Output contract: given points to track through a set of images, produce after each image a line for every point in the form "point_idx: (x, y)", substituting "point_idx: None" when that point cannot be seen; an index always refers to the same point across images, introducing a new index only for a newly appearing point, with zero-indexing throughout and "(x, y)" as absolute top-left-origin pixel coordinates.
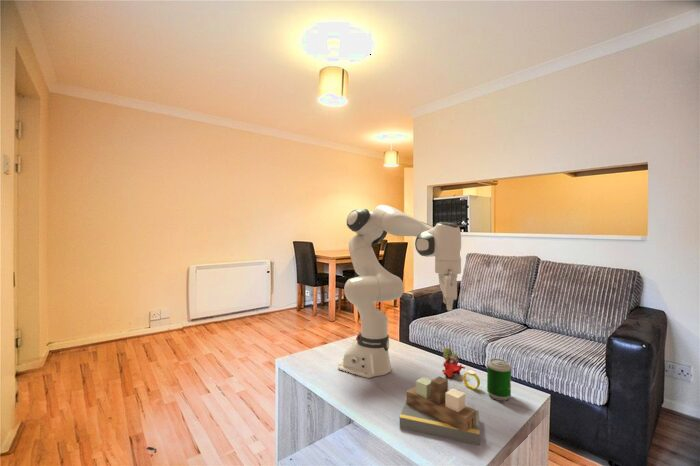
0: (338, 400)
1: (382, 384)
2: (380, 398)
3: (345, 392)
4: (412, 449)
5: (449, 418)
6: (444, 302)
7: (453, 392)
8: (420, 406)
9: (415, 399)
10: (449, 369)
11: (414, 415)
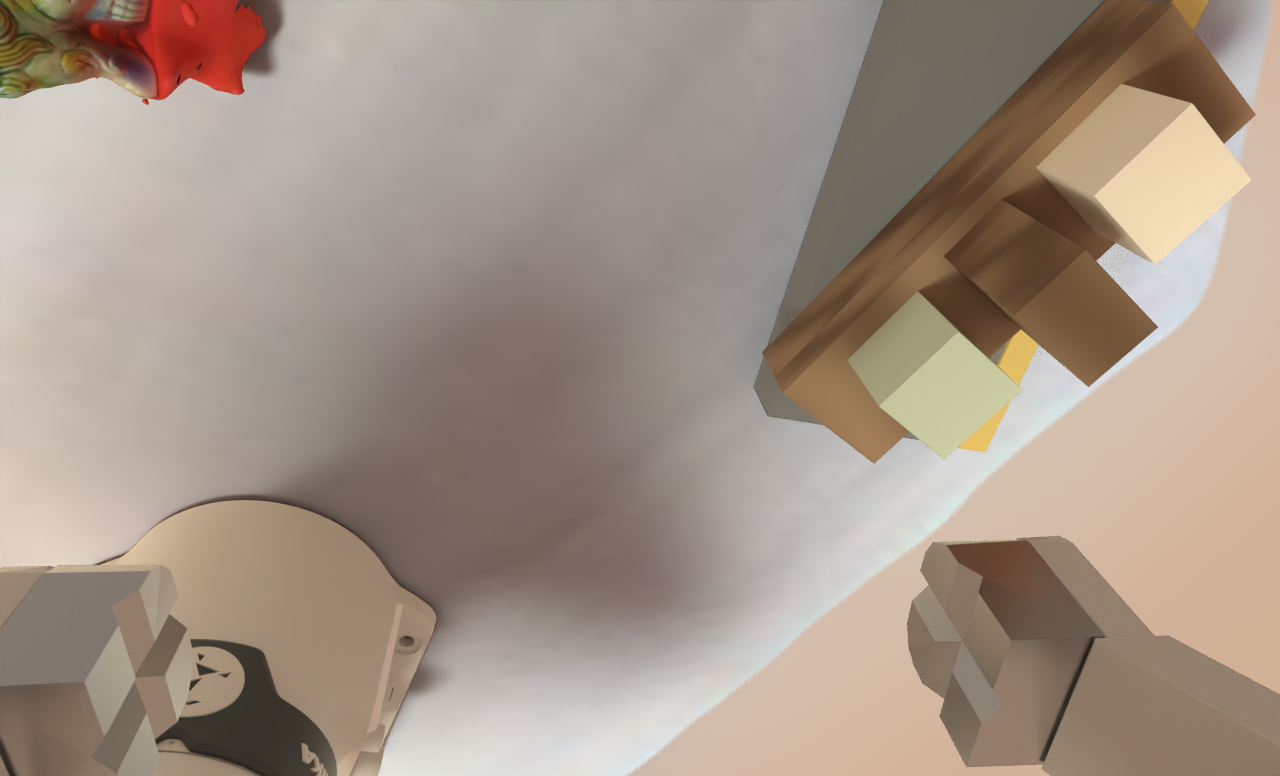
0: (717, 699)
1: (499, 532)
2: (676, 527)
3: (632, 688)
4: (1125, 361)
5: None
6: (173, 694)
7: (1160, 201)
8: None
9: None
10: (205, 34)
11: None
